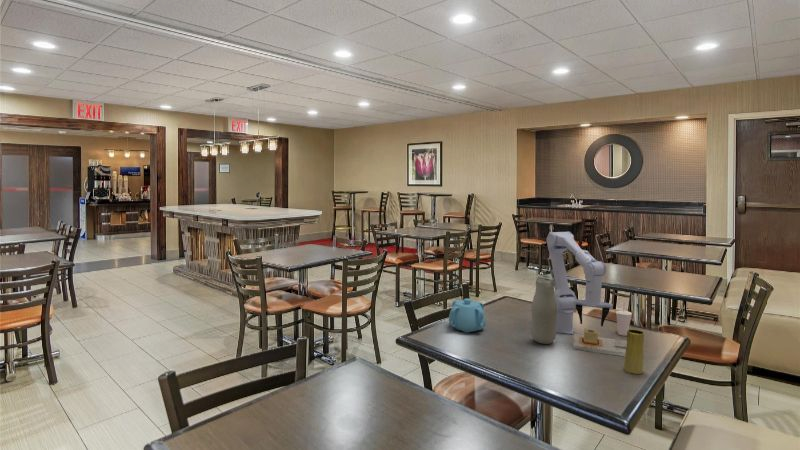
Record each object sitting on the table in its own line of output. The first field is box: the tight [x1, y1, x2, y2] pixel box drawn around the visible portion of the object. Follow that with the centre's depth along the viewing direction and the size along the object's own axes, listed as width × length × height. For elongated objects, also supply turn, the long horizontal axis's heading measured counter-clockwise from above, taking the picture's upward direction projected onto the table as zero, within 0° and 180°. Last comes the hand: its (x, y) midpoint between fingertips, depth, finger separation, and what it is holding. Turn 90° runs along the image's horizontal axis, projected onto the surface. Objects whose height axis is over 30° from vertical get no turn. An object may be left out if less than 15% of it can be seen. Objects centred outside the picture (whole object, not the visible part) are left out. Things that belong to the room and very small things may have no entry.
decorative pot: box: [448, 298, 487, 334], centre depth 200 cm, size 16×16×14 cm
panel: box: [572, 333, 627, 358], centre depth 180 cm, size 24×14×2 cm, turn 67°
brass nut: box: [583, 327, 599, 345], centre depth 182 cm, size 5×5×6 cm
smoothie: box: [615, 302, 633, 337], centre depth 195 cm, size 6×6×14 cm
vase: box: [623, 328, 645, 375], centre depth 158 cm, size 6×6×14 cm
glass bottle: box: [530, 274, 558, 345], centre depth 183 cm, size 10×10×28 cm
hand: (591, 324), depth 181 cm, fingers open, 7 cm apart
